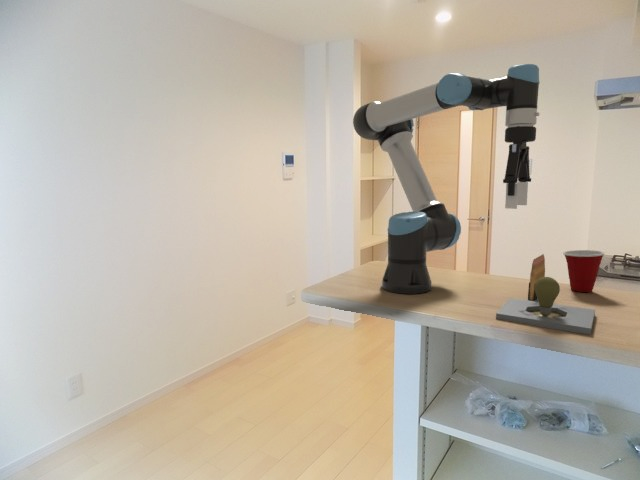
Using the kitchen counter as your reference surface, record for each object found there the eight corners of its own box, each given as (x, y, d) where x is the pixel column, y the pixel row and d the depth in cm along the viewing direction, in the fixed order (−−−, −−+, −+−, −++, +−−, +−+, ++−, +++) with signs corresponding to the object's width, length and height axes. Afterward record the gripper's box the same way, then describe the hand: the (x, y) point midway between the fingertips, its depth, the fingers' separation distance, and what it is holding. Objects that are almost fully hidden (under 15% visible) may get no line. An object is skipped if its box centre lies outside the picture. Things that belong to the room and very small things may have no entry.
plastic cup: (565, 283, 141) (567, 247, 139) (604, 289, 134) (607, 250, 132) (556, 290, 133) (559, 251, 131) (597, 296, 126) (601, 255, 124)
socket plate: (495, 319, 108) (496, 313, 108) (509, 303, 121) (510, 297, 121) (590, 334, 97) (590, 328, 96) (594, 315, 109) (595, 309, 109)
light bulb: (550, 312, 111) (553, 274, 110) (562, 319, 106) (565, 279, 104) (528, 312, 111) (531, 274, 110) (539, 319, 106) (541, 279, 104)
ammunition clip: (534, 301, 122) (537, 259, 121) (527, 300, 124) (530, 258, 122) (544, 293, 130) (547, 254, 129) (538, 292, 132) (540, 253, 130)
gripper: (527, 121, 103) (522, 210, 106) (543, 129, 123) (539, 204, 126) (494, 123, 107) (490, 209, 110) (515, 131, 128) (511, 203, 131)
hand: (516, 206), depth 118 cm, fingers open, 13 cm apart
